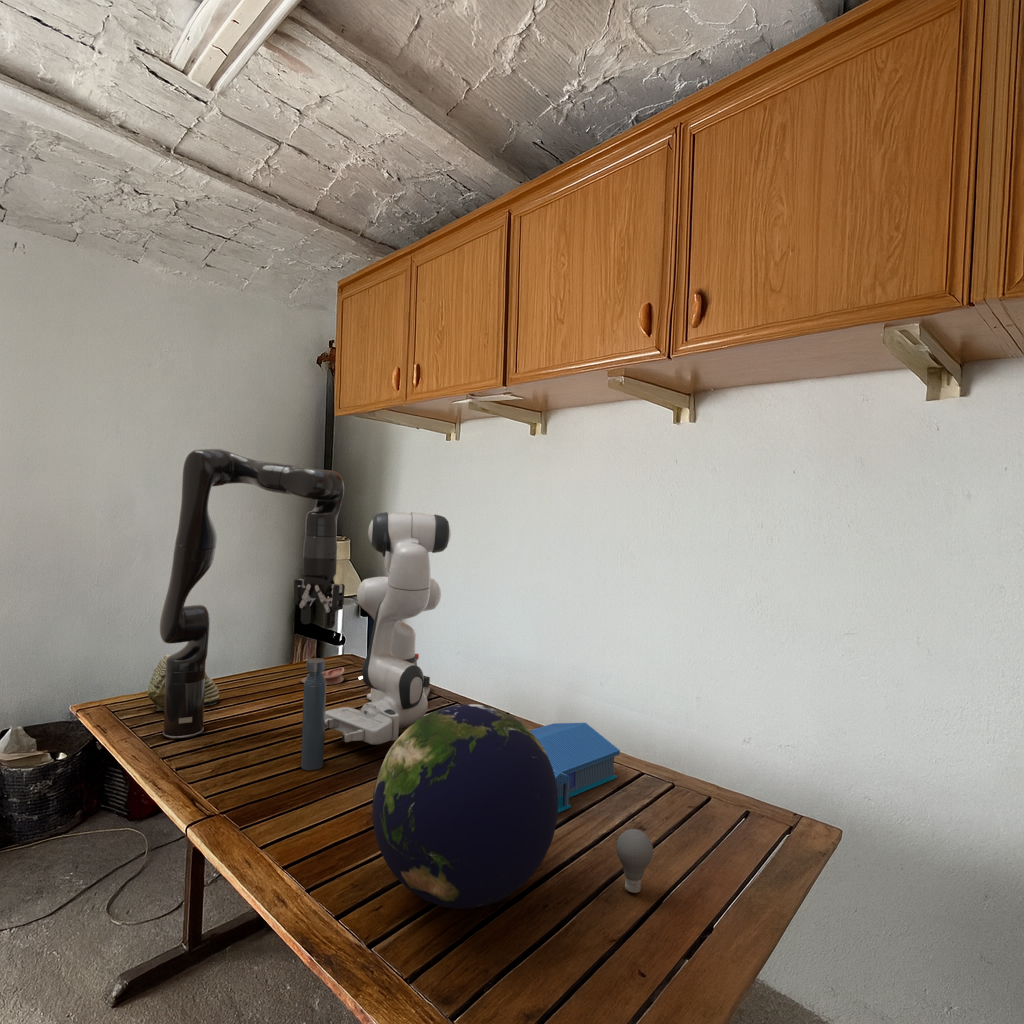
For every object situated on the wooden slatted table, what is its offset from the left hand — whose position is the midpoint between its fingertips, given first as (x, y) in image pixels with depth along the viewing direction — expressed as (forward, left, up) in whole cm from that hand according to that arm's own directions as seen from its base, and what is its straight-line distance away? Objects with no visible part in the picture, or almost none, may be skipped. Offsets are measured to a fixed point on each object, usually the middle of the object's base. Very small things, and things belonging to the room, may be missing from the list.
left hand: (317, 625), depth 148 cm
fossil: (-60, -11, -33) cm, 70 cm away
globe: (+60, -3, -33) cm, 68 cm away
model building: (+40, +33, -33) cm, 61 cm away
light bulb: (+77, +19, -33) cm, 86 cm away
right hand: (-1, +5, -27) cm, 27 cm away
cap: (0, 0, -8) cm, 8 cm away
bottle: (0, 0, -33) cm, 33 cm away
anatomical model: (-60, +33, -33) cm, 76 cm away
